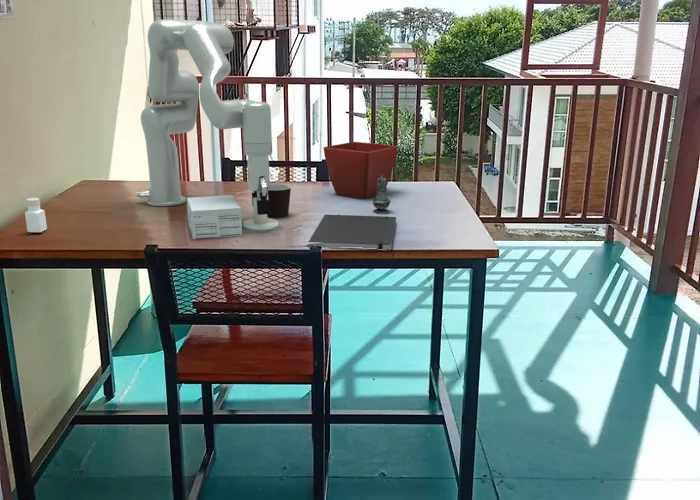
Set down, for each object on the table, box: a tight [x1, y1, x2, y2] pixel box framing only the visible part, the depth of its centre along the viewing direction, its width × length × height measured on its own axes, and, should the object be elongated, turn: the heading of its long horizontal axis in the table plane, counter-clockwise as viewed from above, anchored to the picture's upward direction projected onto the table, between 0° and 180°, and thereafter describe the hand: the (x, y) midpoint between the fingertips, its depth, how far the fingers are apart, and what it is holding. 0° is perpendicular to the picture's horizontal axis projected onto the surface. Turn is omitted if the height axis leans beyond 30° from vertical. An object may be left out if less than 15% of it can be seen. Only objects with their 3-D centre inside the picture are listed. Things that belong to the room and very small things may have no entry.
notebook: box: [308, 214, 397, 249], centre depth 180 cm, size 22×2×28 cm
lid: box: [242, 197, 280, 232], centre depth 180 cm, size 10×10×8 cm
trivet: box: [242, 221, 285, 234], centre depth 182 cm, size 11×11×2 cm
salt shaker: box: [24, 197, 48, 233], centre depth 178 cm, size 4×4×10 cm
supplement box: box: [186, 194, 243, 240], centre depth 177 cm, size 17×13×9 cm
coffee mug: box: [267, 183, 292, 219], centre depth 194 cm, size 12×9×10 cm
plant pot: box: [322, 141, 398, 199], centre depth 225 cm, size 19×19×17 cm
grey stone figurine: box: [371, 175, 391, 215], centre depth 202 cm, size 6×6×12 cm
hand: (260, 210), depth 180 cm, fingers open, 9 cm apart
